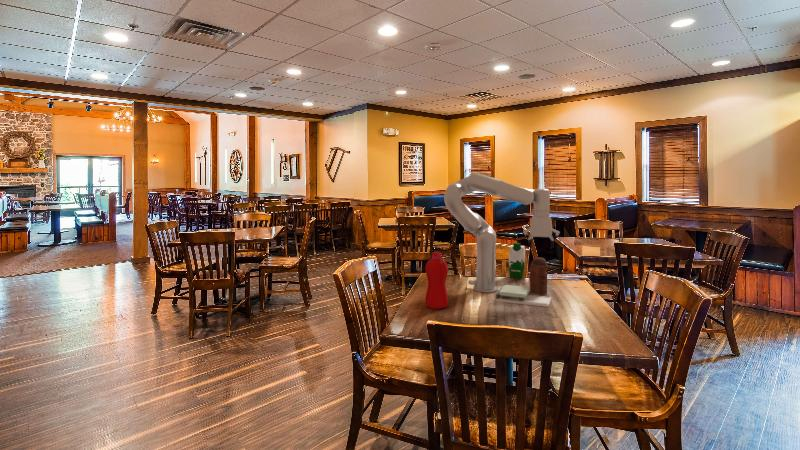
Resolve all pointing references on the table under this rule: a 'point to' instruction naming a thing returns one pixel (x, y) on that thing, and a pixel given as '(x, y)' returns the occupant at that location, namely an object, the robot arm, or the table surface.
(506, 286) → the pale green flat box
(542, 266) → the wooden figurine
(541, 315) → the table surface
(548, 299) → the rail track
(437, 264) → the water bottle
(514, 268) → the milk carton
